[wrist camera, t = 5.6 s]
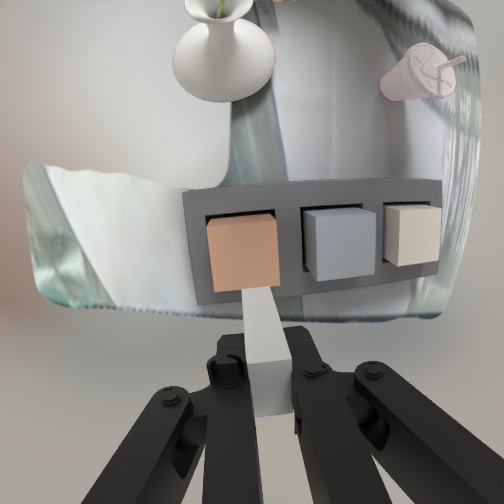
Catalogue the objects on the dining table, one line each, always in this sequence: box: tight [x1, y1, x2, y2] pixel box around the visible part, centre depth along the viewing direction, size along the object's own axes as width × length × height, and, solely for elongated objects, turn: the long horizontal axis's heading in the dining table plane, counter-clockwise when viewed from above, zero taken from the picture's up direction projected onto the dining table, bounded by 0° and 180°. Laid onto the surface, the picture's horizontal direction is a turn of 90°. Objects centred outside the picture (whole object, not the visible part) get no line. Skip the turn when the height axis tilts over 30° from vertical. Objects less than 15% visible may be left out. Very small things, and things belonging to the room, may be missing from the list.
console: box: [182, 178, 442, 305], centre depth 32 cm, size 12×30×4 cm, turn 95°
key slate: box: [303, 207, 376, 281], centre depth 28 cm, size 6×6×5 cm
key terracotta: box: [206, 213, 280, 292], centre depth 28 cm, size 6×6×5 cm
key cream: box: [382, 203, 442, 266], centre depth 30 cm, size 6×6×5 cm
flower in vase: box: [173, 0, 295, 102], centre depth 16 cm, size 13×11×25 cm
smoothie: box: [379, 43, 466, 102], centre depth 22 cm, size 6×6×14 cm
